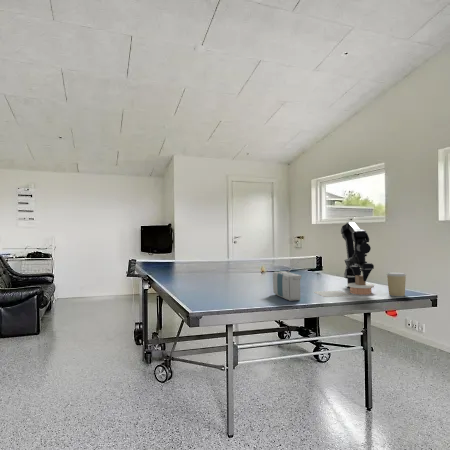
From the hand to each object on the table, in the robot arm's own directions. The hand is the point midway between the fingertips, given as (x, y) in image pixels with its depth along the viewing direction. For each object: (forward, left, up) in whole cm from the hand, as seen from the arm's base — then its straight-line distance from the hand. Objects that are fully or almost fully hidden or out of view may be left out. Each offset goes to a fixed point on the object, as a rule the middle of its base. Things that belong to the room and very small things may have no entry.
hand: (360, 280), depth 197 cm
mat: (0, -17, -8) cm, 19 cm away
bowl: (0, 0, -8) cm, 8 cm away
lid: (0, 0, -4) cm, 4 cm away
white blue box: (+3, -44, -8) cm, 45 cm away
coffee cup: (+9, +16, -8) cm, 20 cm away
